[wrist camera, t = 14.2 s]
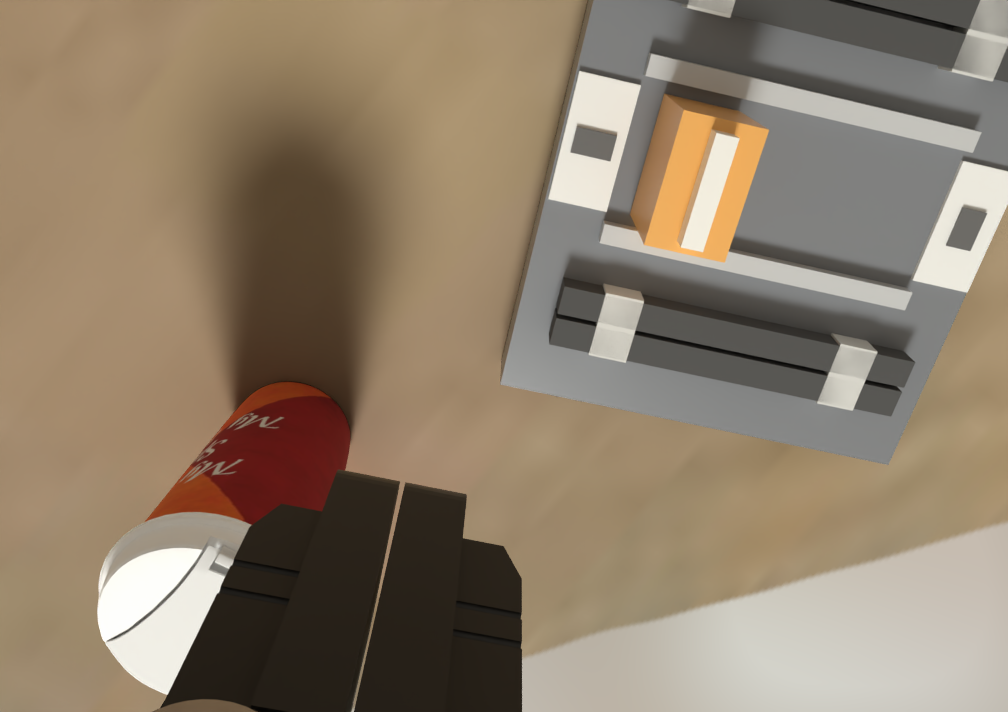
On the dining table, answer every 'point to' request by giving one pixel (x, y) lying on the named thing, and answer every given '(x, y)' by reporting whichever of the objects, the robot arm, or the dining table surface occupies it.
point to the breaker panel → (767, 211)
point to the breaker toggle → (696, 177)
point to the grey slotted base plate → (761, 344)
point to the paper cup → (215, 524)
